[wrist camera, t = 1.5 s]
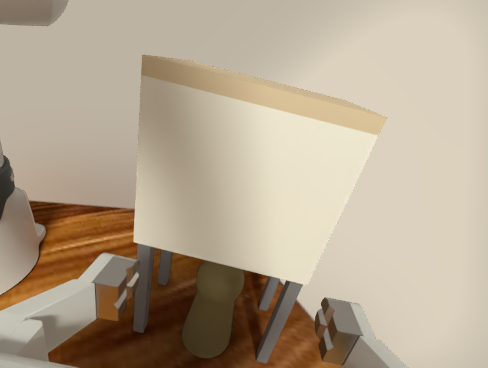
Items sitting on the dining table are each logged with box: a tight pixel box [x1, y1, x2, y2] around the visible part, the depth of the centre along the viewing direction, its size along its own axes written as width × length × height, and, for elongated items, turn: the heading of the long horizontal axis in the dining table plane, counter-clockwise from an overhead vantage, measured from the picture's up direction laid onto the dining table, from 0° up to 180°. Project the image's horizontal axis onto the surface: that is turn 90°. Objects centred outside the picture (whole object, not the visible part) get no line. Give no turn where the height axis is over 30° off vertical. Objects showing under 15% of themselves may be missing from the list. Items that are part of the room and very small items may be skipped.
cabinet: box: [133, 55, 387, 363], centre depth 26 cm, size 10×16×29 cm, turn 84°
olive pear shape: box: [182, 260, 244, 358], centre depth 28 cm, size 6×6×11 cm
